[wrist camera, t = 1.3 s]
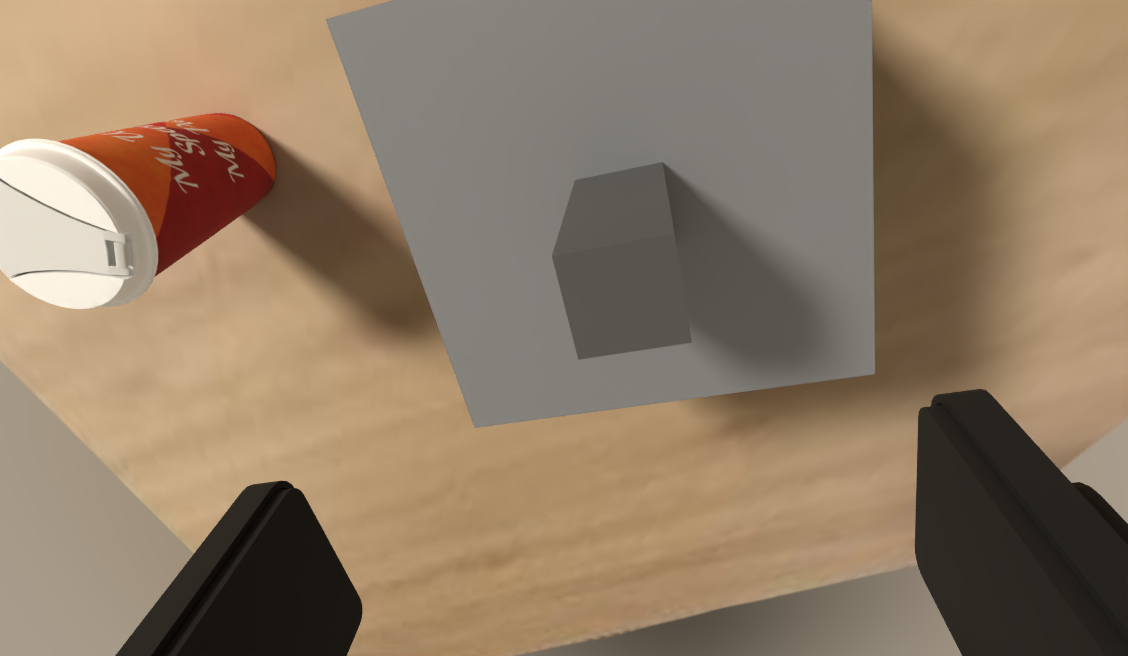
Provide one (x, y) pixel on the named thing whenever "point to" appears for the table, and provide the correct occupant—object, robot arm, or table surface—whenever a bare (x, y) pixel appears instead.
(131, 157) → the coffee cup
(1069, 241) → the table surface
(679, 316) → the grey knobbed cube
